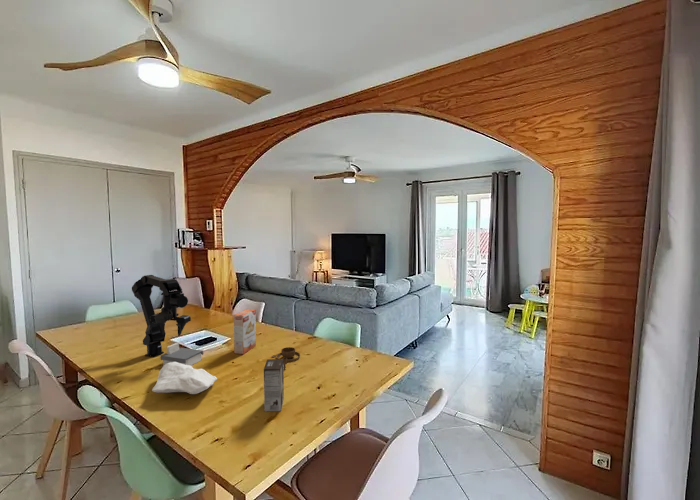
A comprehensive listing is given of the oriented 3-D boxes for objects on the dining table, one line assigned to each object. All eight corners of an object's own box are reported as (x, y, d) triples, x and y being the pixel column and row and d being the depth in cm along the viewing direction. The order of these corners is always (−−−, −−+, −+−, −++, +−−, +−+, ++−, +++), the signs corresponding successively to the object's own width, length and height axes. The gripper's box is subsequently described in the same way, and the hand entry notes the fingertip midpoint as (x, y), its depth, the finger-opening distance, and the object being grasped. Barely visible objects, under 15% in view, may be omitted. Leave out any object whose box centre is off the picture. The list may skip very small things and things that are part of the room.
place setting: (309, 357, 176) (309, 346, 175) (286, 372, 158) (286, 360, 157) (282, 352, 183) (281, 341, 183) (256, 365, 165) (256, 354, 165)
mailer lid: (160, 359, 165) (160, 348, 164) (179, 351, 176) (178, 340, 175) (185, 363, 160) (185, 352, 160) (203, 354, 171) (202, 343, 171)
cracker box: (244, 354, 178) (243, 315, 176) (233, 354, 179) (232, 315, 177) (256, 345, 191) (256, 309, 190) (247, 344, 193) (246, 308, 191)
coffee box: (267, 399, 133) (266, 359, 131) (284, 398, 133) (283, 358, 132) (263, 412, 124) (262, 369, 122) (281, 411, 124) (281, 368, 123)
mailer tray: (162, 364, 166) (162, 357, 165) (178, 356, 175) (178, 349, 175) (186, 368, 161) (185, 360, 161) (201, 360, 171) (201, 352, 171)
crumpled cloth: (167, 413, 120) (171, 387, 121) (135, 382, 143) (137, 360, 144) (228, 398, 138) (231, 375, 138) (190, 372, 161) (193, 353, 161)
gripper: (141, 307, 162) (142, 339, 164) (176, 310, 159) (177, 342, 161) (157, 302, 173) (158, 331, 175) (191, 304, 170) (191, 334, 172)
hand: (170, 335), depth 170 cm, fingers open, 9 cm apart
